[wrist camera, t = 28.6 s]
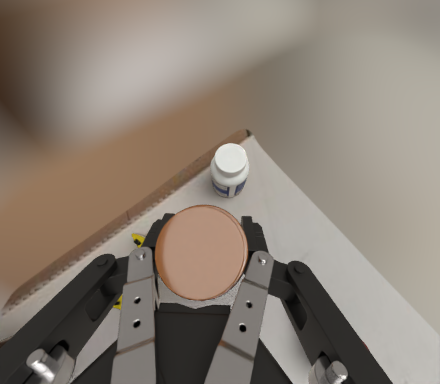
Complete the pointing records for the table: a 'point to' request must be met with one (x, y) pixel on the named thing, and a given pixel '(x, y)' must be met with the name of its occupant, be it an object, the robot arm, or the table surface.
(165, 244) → the jar
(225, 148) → the pill bottle
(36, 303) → the table surface
